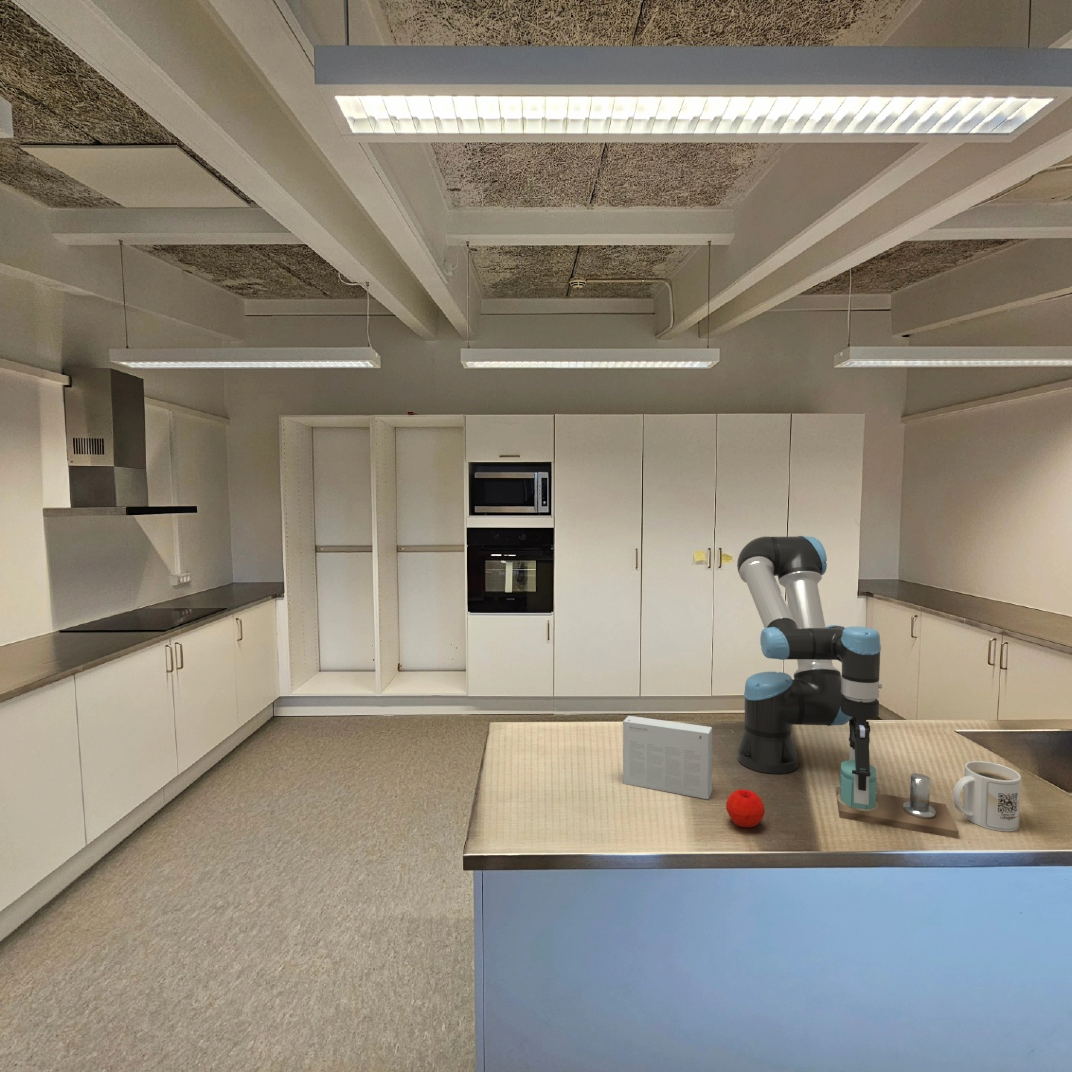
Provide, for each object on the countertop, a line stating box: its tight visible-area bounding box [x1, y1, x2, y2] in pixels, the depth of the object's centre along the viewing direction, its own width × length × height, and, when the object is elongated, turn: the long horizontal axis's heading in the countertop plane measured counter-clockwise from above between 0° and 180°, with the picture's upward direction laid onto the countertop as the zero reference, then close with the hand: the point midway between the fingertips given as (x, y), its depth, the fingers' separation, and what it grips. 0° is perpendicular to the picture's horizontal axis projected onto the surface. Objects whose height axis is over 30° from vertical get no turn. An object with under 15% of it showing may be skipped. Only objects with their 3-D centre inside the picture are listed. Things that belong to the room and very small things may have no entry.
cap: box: [839, 759, 877, 810], centre depth 138 cm, size 7×7×8 cm
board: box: [835, 786, 959, 839], centre depth 135 cm, size 22×12×2 cm, turn 67°
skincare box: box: [622, 715, 713, 800], centre depth 149 cm, size 21×5×16 cm, turn 65°
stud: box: [903, 773, 936, 819], centre depth 133 cm, size 6×6×8 cm
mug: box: [952, 760, 1022, 833], centre depth 132 cm, size 10×12×11 cm
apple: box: [725, 789, 766, 828], centre depth 131 cm, size 8×8×7 cm
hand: (858, 789), depth 137 cm, fingers open, 13 cm apart
